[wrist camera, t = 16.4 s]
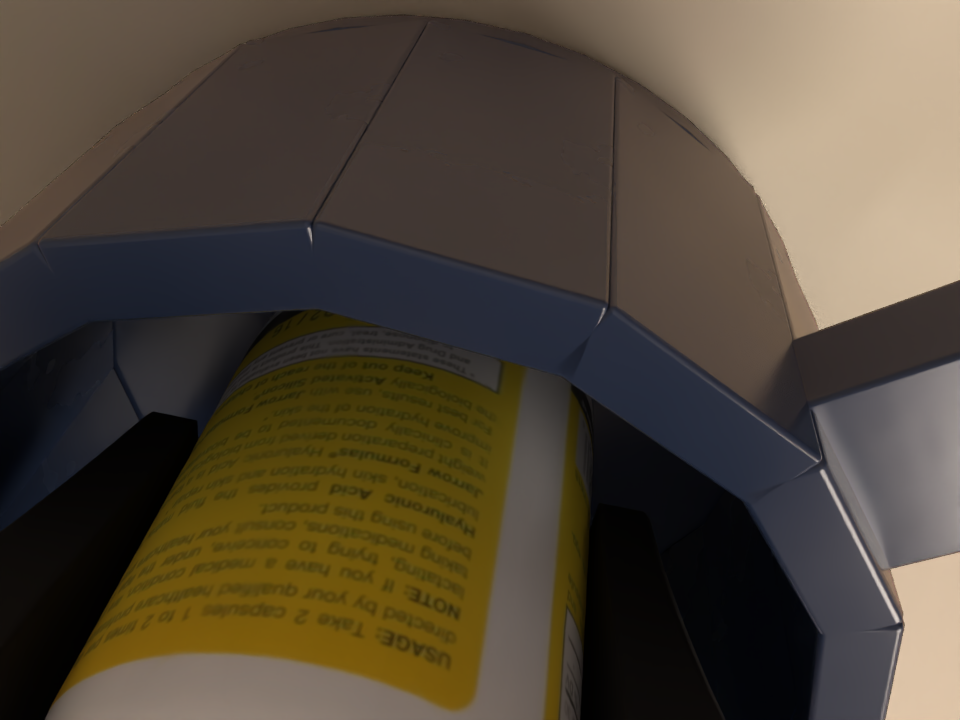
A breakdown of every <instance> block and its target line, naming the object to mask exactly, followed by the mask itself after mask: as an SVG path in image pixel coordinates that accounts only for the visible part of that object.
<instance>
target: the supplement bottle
mask: <svg viewBox="0 0 960 720" xmlns="http://www.w3.org/2000/svg"><path fill="white" fill-rule="evenodd" d="M593 449H594V439H593V407H592V400H591V397H589V396H588V395H587V394H585V393H584V392H582V391H581V390H579V389H578V388H576V387H575V386H573V385H572V384H570V383H569V382H568V381H566V380H565V379H563V378H562V377H560V376H556V375H553V374H549V373H545V372H542V371H538V370H535V369H531V368H527V367H524V366H520V365H517V364H513V363H509V362H506V361H502V360H499V359H495V358H491V357H488V356H484V355H480V354H477V353H473V352H470V351H466V350H462V349H459V348H455V347H452V346H448V345H444V344H441V343H437V342H434V341H430V340H426V339H423V338H419V337H416V336H412V335H408V334H405V333H401V332H397V331H394V330H390V329H387V328H383V327H379V326H376V325H372V324H369V323H365V322H361V321H358V320H354V319H351V318H347V317H343V316H340V315H336V314H332V313H329V312H325V311H322V310H318V309H315V310H297V311H279V312H275V313H274V315H273V316H272V317H271V318H270V320H269V321H268V322H267V323H266V325H265V326H264V328H263V329H262V331H261V332H260V333H259V335H258V336H257V338H256V339H255V341H254V342H253V344H252V345H251V347H250V348H249V350H248V351H247V353H246V354H245V356H244V358H243V360H242V362H241V364H240V366H239V368H238V369H237V370H236V372H235V374H234V376H233V378H232V379H231V381H230V383H229V385H228V387H227V389H226V390H225V392H224V394H223V396H222V398H221V400H220V402H219V404H218V405H217V407H216V409H215V411H214V413H213V414H212V416H211V418H210V420H209V421H208V423H207V425H206V427H205V429H204V430H203V432H202V434H201V436H200V438H199V439H198V441H197V443H196V445H195V447H194V449H193V451H192V453H191V455H190V457H189V459H188V460H187V462H186V464H185V465H184V467H183V469H182V470H181V472H180V474H179V476H178V477H177V479H176V481H175V483H174V485H173V487H172V488H171V490H170V492H169V494H168V496H167V498H166V499H165V501H164V503H163V505H162V507H161V509H160V510H159V512H158V514H157V516H156V518H155V519H154V521H153V523H152V525H151V527H150V528H149V530H148V532H147V534H146V536H145V537H144V539H143V541H142V543H141V545H140V546H139V548H138V550H137V552H136V554H135V555H134V557H133V559H132V561H131V563H130V564H129V566H128V568H127V570H126V572H125V573H124V575H123V577H122V579H121V581H120V582H119V584H118V586H117V588H116V590H115V591H114V593H113V595H112V597H111V599H110V601H109V602H108V604H107V606H106V608H105V610H104V611H103V613H102V615H101V617H100V619H99V620H98V622H97V624H96V626H95V628H94V629H93V631H92V633H91V635H90V637H89V638H88V640H87V642H86V644H85V646H84V647H83V649H82V651H81V653H80V655H79V656H78V658H77V660H76V662H75V664H74V665H73V667H72V669H71V671H70V673H69V674H68V676H67V678H66V680H65V681H64V683H63V685H62V687H61V689H60V690H59V692H58V694H57V696H56V698H55V699H54V701H53V703H52V705H51V707H50V709H49V711H48V714H47V716H46V718H45V720H580V716H581V698H582V679H583V655H584V634H585V616H586V591H587V572H588V555H589V527H590V519H591V498H592V474H593V453H594V451H593Z"/></svg>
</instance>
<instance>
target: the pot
mask: <svg viewBox="0 0 960 720" xmlns="http://www.w3.org/2000/svg"><path fill="white" fill-rule="evenodd" d="M315 309H318V310H322V311H325V312H329V313H332V314H336V315H340V316H343V317H347V318H351V319H354V320H358V321H361V322H365V323H369V324H372V325H376V326H379V327H383V328H387V329H390V330H394V331H397V332H401V333H405V334H408V335H412V336H416V337H419V338H423V339H426V340H430V341H434V342H437V343H441V344H444V345H448V346H452V347H455V348H459V349H462V350H466V351H470V352H473V353H477V354H480V355H484V356H488V357H491V358H495V359H499V360H502V361H506V362H509V363H513V364H517V365H520V366H524V367H527V368H531V369H535V370H538V371H542V372H545V373H549V374H553V375H556V376H560V377H562V378H563V379H565V380H566V381H568V382H569V383H570V384H572V385H573V386H575V387H576V388H578V389H579V390H581V391H582V392H584V393H585V394H587V395H588V396H589V397H591V400H592V407H593V439H594V449H593V451H594V453H593V474H592V498H591V519H590V527H589V531H590V528H591V525H592V522H593V519H594V516H595V513H596V511H597V508H598V505H599V503H603V504H608V505H613V506H618V507H622V508H627V509H632V510H637V511H642V512H645V514H646V515H647V516H648V518H649V519H650V522H651V526H652V530H653V533H654V537H655V540H656V544H657V547H658V550H659V553H660V557H661V560H662V563H663V566H664V569H665V572H666V575H667V578H668V581H669V584H670V587H671V589H672V592H673V595H674V598H675V601H676V604H677V606H678V609H679V612H680V614H681V617H682V620H683V622H684V625H685V627H686V630H687V632H688V635H689V637H690V640H691V642H692V645H693V647H694V649H695V652H696V654H697V657H698V659H699V662H700V664H701V667H702V669H703V671H704V674H705V676H706V678H707V681H708V683H709V685H710V687H711V690H712V692H713V694H714V696H715V699H716V701H717V703H718V705H719V707H720V709H721V711H722V713H723V715H724V718H725V720H885V718H886V714H887V709H888V704H889V699H890V694H891V689H892V684H893V680H894V675H895V670H896V665H897V660H898V655H899V651H900V646H901V641H902V636H903V631H904V626H905V624H904V621H903V611H902V607H901V604H900V601H899V597H898V594H897V591H896V587H895V584H894V580H893V577H892V574H891V570H890V569H892V568H896V567H900V566H904V565H908V564H912V563H917V562H921V561H925V560H929V559H933V558H937V557H941V556H945V555H950V554H954V553H958V552H960V280H959V281H956V282H953V283H950V284H947V285H945V286H942V287H939V288H936V289H933V290H931V291H928V292H925V293H922V294H919V295H917V296H914V297H911V298H908V299H905V300H903V301H900V302H897V303H894V304H892V305H889V306H886V307H883V308H880V309H878V310H875V311H872V312H869V313H866V314H864V315H861V316H858V317H855V318H852V319H850V320H847V321H844V322H841V323H838V324H836V325H833V326H830V327H827V328H824V329H822V330H819V329H818V326H817V322H816V320H815V318H814V316H813V313H812V311H811V309H810V307H809V305H808V302H807V300H806V298H805V296H804V294H803V291H802V289H801V287H800V285H799V283H798V280H797V278H796V276H795V273H794V270H793V267H792V264H791V262H790V259H789V256H788V253H787V250H786V248H785V245H784V242H783V240H782V238H781V237H780V235H779V233H778V231H777V229H776V228H775V226H774V224H773V222H772V220H771V219H770V217H769V215H768V213H767V211H766V210H765V208H764V206H763V203H762V201H761V199H760V197H759V196H758V195H757V194H756V193H755V190H754V188H753V186H752V185H750V184H749V183H748V182H747V181H745V179H744V178H743V177H742V175H741V174H740V173H739V172H738V170H737V169H736V168H735V166H734V165H733V164H732V163H731V161H730V160H729V159H728V157H727V156H726V155H725V154H724V153H723V152H722V151H721V150H719V149H718V148H717V147H716V146H715V145H714V144H713V143H712V142H711V141H710V140H709V139H708V138H707V137H706V136H705V135H704V134H703V133H702V132H701V131H700V130H699V129H698V128H697V127H695V126H694V125H693V124H692V123H691V122H690V121H689V120H688V119H687V118H686V117H685V116H683V115H682V114H680V113H679V112H678V111H676V110H675V109H673V108H672V107H671V106H669V105H668V104H666V103H665V102H664V101H662V100H661V99H659V98H658V97H657V96H655V95H654V94H653V93H651V92H650V91H648V90H647V89H646V88H644V87H643V86H641V85H640V84H639V83H637V82H635V81H633V80H631V79H629V78H627V77H625V76H623V75H621V74H620V73H618V72H616V71H614V70H612V69H610V68H608V67H606V66H604V65H603V64H601V63H599V62H597V61H595V60H593V59H591V58H589V57H587V56H586V55H583V54H580V53H578V52H575V51H572V50H570V49H567V48H564V47H561V46H559V45H556V44H553V43H551V42H548V41H545V40H542V39H540V38H537V37H534V36H532V35H529V34H526V33H521V32H517V31H512V30H508V29H503V28H499V27H494V26H490V25H485V24H481V23H477V22H472V21H468V20H459V19H447V18H435V17H424V16H412V15H391V16H372V17H352V18H342V19H337V20H331V21H326V22H321V23H316V24H311V25H306V26H301V27H296V28H291V29H287V30H284V31H281V32H278V33H276V34H273V35H270V36H267V37H264V38H262V39H259V40H250V41H248V42H247V43H245V44H239V45H238V46H236V47H235V48H233V49H232V50H230V51H229V52H227V53H226V54H224V55H222V56H220V57H218V58H217V59H215V60H213V61H211V62H209V63H207V64H206V65H204V66H202V67H200V68H198V69H196V70H195V71H193V72H191V73H190V74H189V75H188V76H186V77H185V78H184V79H182V80H181V81H180V82H179V83H177V84H176V85H175V86H174V87H172V88H171V89H170V90H168V91H167V92H166V93H165V94H163V95H162V96H160V97H159V98H157V99H156V100H154V101H153V102H151V103H150V104H148V105H147V106H145V107H144V108H142V109H141V110H139V111H138V112H136V113H135V114H133V115H131V116H130V117H128V118H127V119H125V120H124V121H122V122H121V123H119V124H118V125H117V126H116V127H114V128H113V129H112V130H111V131H110V132H109V133H108V134H106V135H105V136H104V137H103V138H102V139H101V140H100V141H98V142H97V143H96V144H95V145H94V146H93V147H92V148H90V149H89V150H88V151H87V152H86V153H85V154H83V155H82V156H81V157H80V158H79V159H78V160H77V161H75V162H74V163H73V164H72V165H71V166H70V167H69V168H67V169H66V170H65V171H64V172H63V173H62V174H61V175H59V176H58V177H57V178H56V179H55V180H54V181H53V182H51V183H50V184H49V185H48V186H47V187H46V188H44V189H43V190H42V191H41V192H40V193H39V194H38V195H36V196H35V197H34V198H33V199H32V200H31V201H30V202H28V203H27V204H26V205H25V206H24V207H23V208H22V209H20V210H19V211H18V212H17V213H16V214H15V215H13V216H12V217H11V218H10V219H9V220H8V221H7V222H5V223H4V224H3V225H2V226H1V227H0V531H1V530H3V529H4V528H5V527H7V526H8V525H10V524H11V523H12V522H14V521H15V520H16V519H18V518H19V517H20V516H22V515H23V514H24V513H26V512H27V511H28V510H29V509H31V508H32V507H33V506H35V505H36V504H37V503H38V502H40V501H41V500H42V499H44V498H45V497H46V496H48V495H49V494H50V493H51V492H53V491H54V490H55V489H57V488H58V487H59V486H61V485H62V484H63V483H64V482H66V481H67V480H68V479H69V478H71V477H72V476H73V475H74V474H76V473H77V472H78V471H79V470H81V469H82V468H83V467H84V466H86V465H87V464H88V463H89V462H90V461H92V460H93V459H94V458H95V457H97V456H98V455H99V454H100V453H101V452H103V451H104V450H105V449H106V448H107V447H109V446H110V445H111V444H112V443H113V442H115V441H116V440H117V439H118V438H119V437H121V436H122V435H123V434H124V433H125V432H127V431H128V430H129V429H130V428H131V427H133V426H134V425H135V424H136V423H137V422H139V421H140V420H141V419H142V418H143V417H145V416H146V415H148V414H149V413H151V412H153V411H154V412H159V413H164V414H168V415H173V416H178V417H183V418H188V419H193V420H197V424H198V439H199V438H200V436H201V434H202V432H203V430H204V429H205V427H206V425H207V423H208V421H209V420H210V418H211V416H212V414H213V413H214V411H215V409H216V407H217V405H218V404H219V402H220V400H221V398H222V396H223V394H224V392H225V390H226V389H227V387H228V385H229V383H230V381H231V379H232V378H233V376H234V374H235V372H236V370H237V369H238V368H239V366H240V364H241V362H242V360H243V358H244V356H245V354H246V353H247V351H248V350H249V348H250V347H251V345H252V344H253V342H254V341H255V339H256V338H257V336H258V335H259V333H260V332H261V331H262V329H263V328H264V326H265V325H266V323H267V322H268V321H269V320H270V318H271V317H272V316H273V315H274V313H275V312H279V311H297V310H315Z"/></svg>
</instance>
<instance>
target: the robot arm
mask: <svg viewBox="0 0 960 720" xmlns="http://www.w3.org/2000/svg"><path fill="white" fill-rule="evenodd" d="M197 441H198V424H197V420H193V419H188V418H183V417H178V416H173V415H168V414H164V413H159V412H154V411H153V412H151V413H149V414H148V415H146V416H145V417H143V418H142V419H141V420H140V421H139V422H137V423H136V424H135V425H134V426H133V427H131V428H130V429H129V430H128V431H127V432H125V433H124V434H123V435H122V436H121V437H119V438H118V439H117V440H116V441H115V442H113V443H112V444H111V445H110V446H109V447H107V448H106V449H105V450H104V451H103V452H101V453H100V454H99V455H98V456H97V457H95V458H94V459H93V460H92V461H90V462H89V463H88V464H87V465H86V466H84V467H83V468H82V469H81V470H79V471H78V472H77V473H76V474H74V475H73V476H72V477H71V478H69V479H68V480H67V481H66V482H64V483H63V484H62V485H61V486H59V487H58V488H57V489H55V490H54V491H53V492H51V493H50V494H49V495H48V496H46V497H45V498H44V499H42V500H41V501H40V502H38V503H37V504H36V505H35V506H33V507H32V508H31V509H29V510H28V511H27V512H26V513H24V514H23V515H22V516H20V517H19V518H18V519H16V520H15V521H14V522H12V523H11V524H10V525H8V526H7V527H5V528H4V529H3V530H1V531H0V720H45V718H46V716H47V714H48V711H49V709H50V707H51V705H52V703H53V701H54V699H55V698H56V696H57V694H58V692H59V690H60V689H61V687H62V685H63V683H64V681H65V680H66V678H67V676H68V674H69V673H70V671H71V669H72V667H73V665H74V664H75V662H76V660H77V658H78V656H79V655H80V653H81V651H82V649H83V647H84V646H85V644H86V642H87V640H88V638H89V637H90V635H91V633H92V631H93V629H94V628H95V626H96V624H97V622H98V620H99V619H100V617H101V615H102V613H103V611H104V610H105V608H106V606H107V604H108V602H109V601H110V599H111V597H112V595H113V593H114V591H115V590H116V588H117V586H118V584H119V582H120V581H121V579H122V577H123V575H124V573H125V572H126V570H127V568H128V566H129V564H130V563H131V561H132V559H133V557H134V555H135V554H136V552H137V550H138V548H139V546H140V545H141V543H142V541H143V539H144V537H145V536H146V534H147V532H148V530H149V528H150V527H151V525H152V523H153V521H154V519H155V518H156V516H157V514H158V512H159V510H160V509H161V507H162V505H163V503H164V501H165V499H166V498H167V496H168V494H169V492H170V490H171V488H172V487H173V485H174V483H175V481H176V479H177V477H178V476H179V474H180V472H181V470H182V469H183V467H184V465H185V464H186V462H187V460H188V459H189V457H190V455H191V453H192V451H193V449H194V447H195V445H196V443H197ZM580 720H725V718H724V715H723V713H722V711H721V709H720V707H719V705H718V703H717V701H716V699H715V696H714V694H713V692H712V690H711V687H710V685H709V683H708V681H707V678H706V676H705V674H704V671H703V669H702V667H701V664H700V662H699V659H698V657H697V654H696V652H695V649H694V647H693V645H692V642H691V640H690V637H689V635H688V632H687V630H686V627H685V625H684V622H683V620H682V617H681V614H680V612H679V609H678V606H677V604H676V601H675V598H674V595H673V592H672V589H671V587H670V584H669V581H668V578H667V575H666V572H665V569H664V566H663V563H662V560H661V557H660V553H659V550H658V547H657V544H656V540H655V537H654V533H653V530H652V526H651V522H650V519H649V518H648V516H647V515H646V514H645V512H642V511H637V510H632V509H627V508H622V507H618V506H613V505H608V504H603V503H599V505H598V508H597V511H596V513H595V516H594V519H593V522H592V525H591V528H590V531H589V555H588V572H587V591H586V616H585V634H584V655H583V679H582V698H581V716H580Z"/></svg>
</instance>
